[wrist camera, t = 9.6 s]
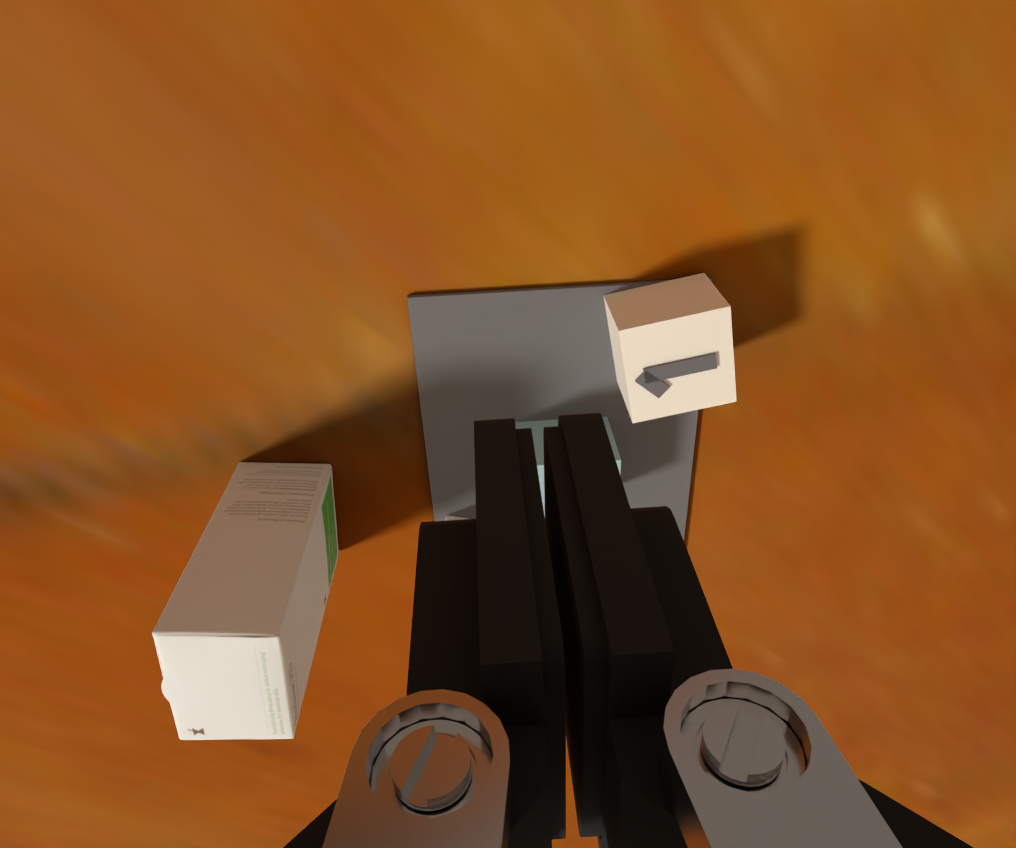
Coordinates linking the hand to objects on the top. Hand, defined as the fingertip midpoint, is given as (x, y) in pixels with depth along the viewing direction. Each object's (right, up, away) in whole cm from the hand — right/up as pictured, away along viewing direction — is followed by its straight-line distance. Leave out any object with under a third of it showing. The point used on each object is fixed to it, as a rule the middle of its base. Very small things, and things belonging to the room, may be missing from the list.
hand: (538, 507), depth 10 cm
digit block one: (+9, +7, +35) cm, 37 cm away
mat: (+3, -1, +40) cm, 40 cm away
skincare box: (-16, -5, +41) cm, 44 cm away
